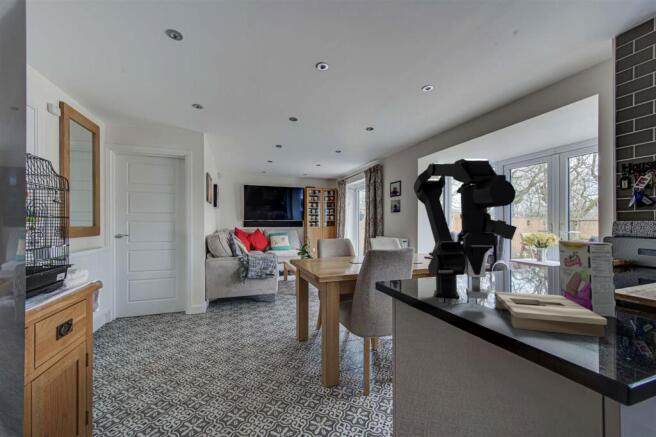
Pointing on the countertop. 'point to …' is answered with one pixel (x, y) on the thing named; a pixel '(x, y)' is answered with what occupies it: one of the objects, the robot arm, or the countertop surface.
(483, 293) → the peg
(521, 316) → the keyhole plate
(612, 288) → the candy bar box
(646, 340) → the countertop surface
